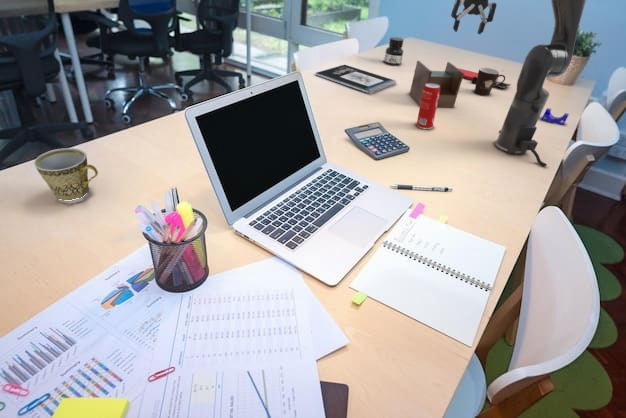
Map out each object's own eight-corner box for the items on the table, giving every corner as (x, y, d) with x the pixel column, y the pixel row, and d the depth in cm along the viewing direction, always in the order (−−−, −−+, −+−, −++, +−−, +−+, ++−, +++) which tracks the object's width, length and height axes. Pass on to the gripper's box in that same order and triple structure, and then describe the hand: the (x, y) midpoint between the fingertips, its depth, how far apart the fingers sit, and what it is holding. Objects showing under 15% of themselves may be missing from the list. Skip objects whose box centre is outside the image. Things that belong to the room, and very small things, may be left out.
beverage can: (432, 130, 138) (444, 89, 129) (414, 128, 139) (424, 86, 130) (431, 124, 143) (443, 83, 134) (414, 121, 144) (424, 81, 135)
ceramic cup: (38, 204, 88) (22, 166, 82) (67, 181, 96) (55, 145, 90) (92, 213, 87) (80, 175, 81) (117, 189, 95) (107, 153, 89)
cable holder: (541, 119, 155) (545, 110, 153) (543, 117, 158) (547, 107, 155) (562, 126, 152) (567, 116, 149) (564, 123, 154) (569, 114, 152)
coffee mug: (470, 93, 174) (477, 70, 168) (473, 88, 180) (480, 66, 174) (497, 99, 170) (505, 76, 164) (499, 94, 177) (507, 72, 171)
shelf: (453, 107, 158) (464, 73, 150) (421, 106, 156) (430, 71, 148) (439, 94, 169) (449, 62, 161) (409, 94, 167) (417, 60, 159)
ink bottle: (381, 63, 200) (386, 39, 193) (384, 59, 207) (388, 35, 200) (400, 67, 198) (405, 42, 191) (402, 62, 205) (407, 38, 198)
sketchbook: (344, 67, 191) (344, 63, 190) (396, 84, 176) (397, 80, 175) (315, 75, 177) (315, 70, 176) (369, 94, 162) (370, 90, 161)
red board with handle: (504, 91, 179) (512, 84, 190) (507, 85, 178) (514, 78, 188) (442, 75, 193) (453, 70, 203) (444, 69, 191) (454, 64, 201)
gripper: (463, -20, 130) (449, 32, 140) (506, -15, 130) (489, 37, 139) (458, -22, 137) (445, 28, 146) (499, -18, 136) (484, 32, 146)
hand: (467, 32), depth 143 cm, fingers open, 8 cm apart
